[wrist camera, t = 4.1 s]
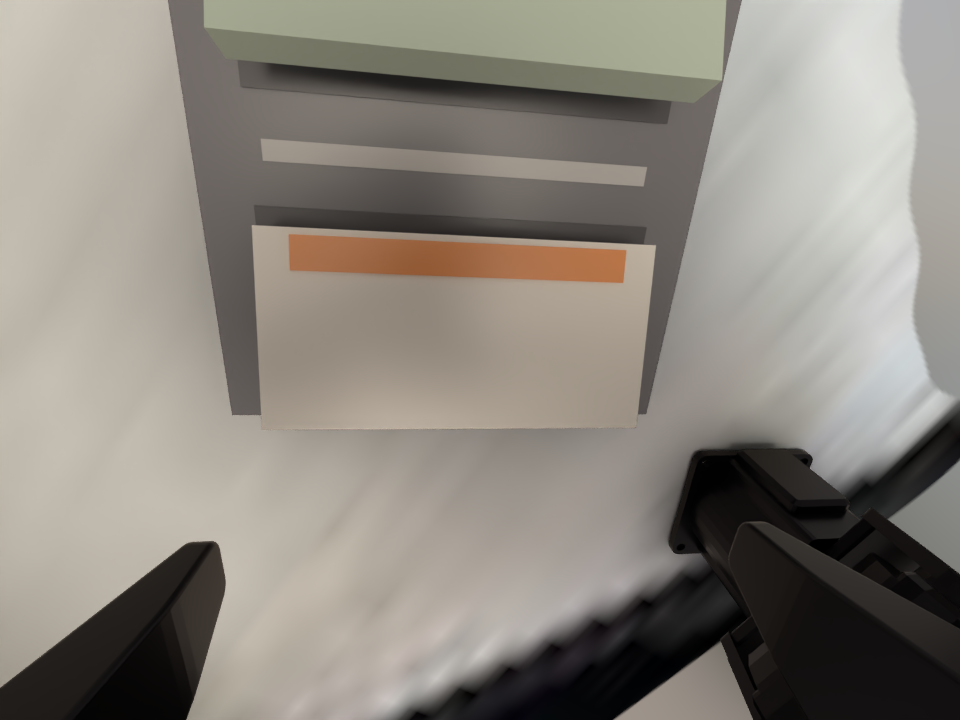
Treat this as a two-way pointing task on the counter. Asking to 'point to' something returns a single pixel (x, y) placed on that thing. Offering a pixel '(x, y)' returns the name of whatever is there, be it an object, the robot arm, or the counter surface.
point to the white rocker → (447, 330)
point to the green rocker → (490, 41)
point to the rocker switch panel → (427, 169)
